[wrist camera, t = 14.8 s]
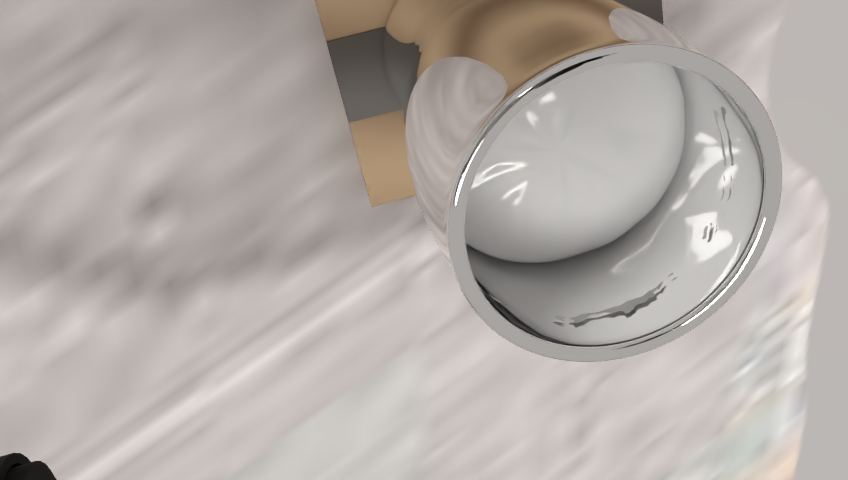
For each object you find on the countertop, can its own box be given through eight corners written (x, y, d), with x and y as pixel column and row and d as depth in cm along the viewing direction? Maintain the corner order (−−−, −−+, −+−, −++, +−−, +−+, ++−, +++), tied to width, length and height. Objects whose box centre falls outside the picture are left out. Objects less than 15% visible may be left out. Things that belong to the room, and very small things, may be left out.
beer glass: (368, -58, 26) (441, 32, 13) (571, -57, 27) (834, 30, 14) (370, 142, 29) (431, 383, 16) (553, 137, 30) (754, 361, 17)
